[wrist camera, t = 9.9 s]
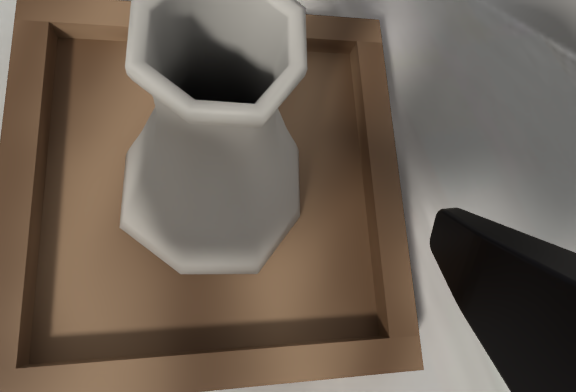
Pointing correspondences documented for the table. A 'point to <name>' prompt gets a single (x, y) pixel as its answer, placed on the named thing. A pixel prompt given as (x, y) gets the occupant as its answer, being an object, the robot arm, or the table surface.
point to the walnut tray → (159, 275)
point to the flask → (214, 131)
